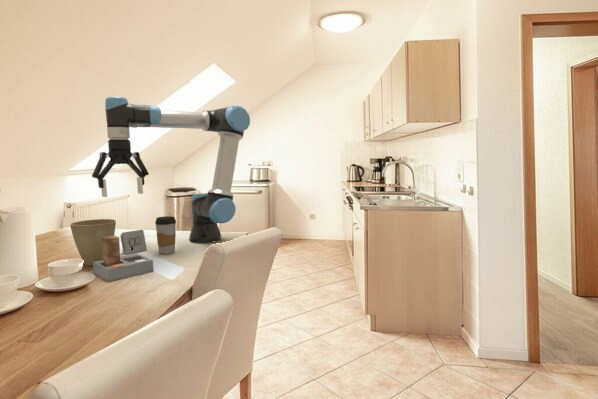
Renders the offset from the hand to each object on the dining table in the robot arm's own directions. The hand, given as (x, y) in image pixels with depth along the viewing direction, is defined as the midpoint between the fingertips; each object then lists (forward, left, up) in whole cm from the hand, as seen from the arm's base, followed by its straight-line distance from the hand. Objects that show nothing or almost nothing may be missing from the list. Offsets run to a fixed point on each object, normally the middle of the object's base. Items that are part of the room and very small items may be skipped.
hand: (123, 195), depth 137 cm
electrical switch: (-7, -11, -26) cm, 29 cm away
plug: (+11, +15, -25) cm, 31 cm away
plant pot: (+10, -4, -26) cm, 28 cm away
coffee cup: (-16, +1, -26) cm, 31 cm away
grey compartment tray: (+7, +15, -26) cm, 31 cm away
